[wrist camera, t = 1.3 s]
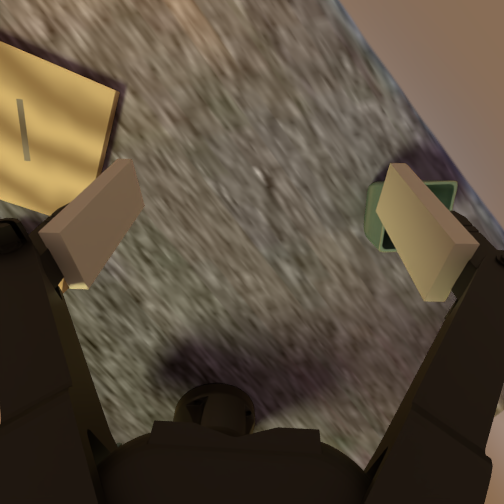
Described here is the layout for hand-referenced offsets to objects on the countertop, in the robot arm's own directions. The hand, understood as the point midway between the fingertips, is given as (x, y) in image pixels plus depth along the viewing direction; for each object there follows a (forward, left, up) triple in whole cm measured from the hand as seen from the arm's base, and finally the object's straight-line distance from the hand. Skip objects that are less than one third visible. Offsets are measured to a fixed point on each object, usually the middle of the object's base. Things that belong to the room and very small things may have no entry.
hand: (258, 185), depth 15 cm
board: (-7, +31, -27) cm, 41 cm away
